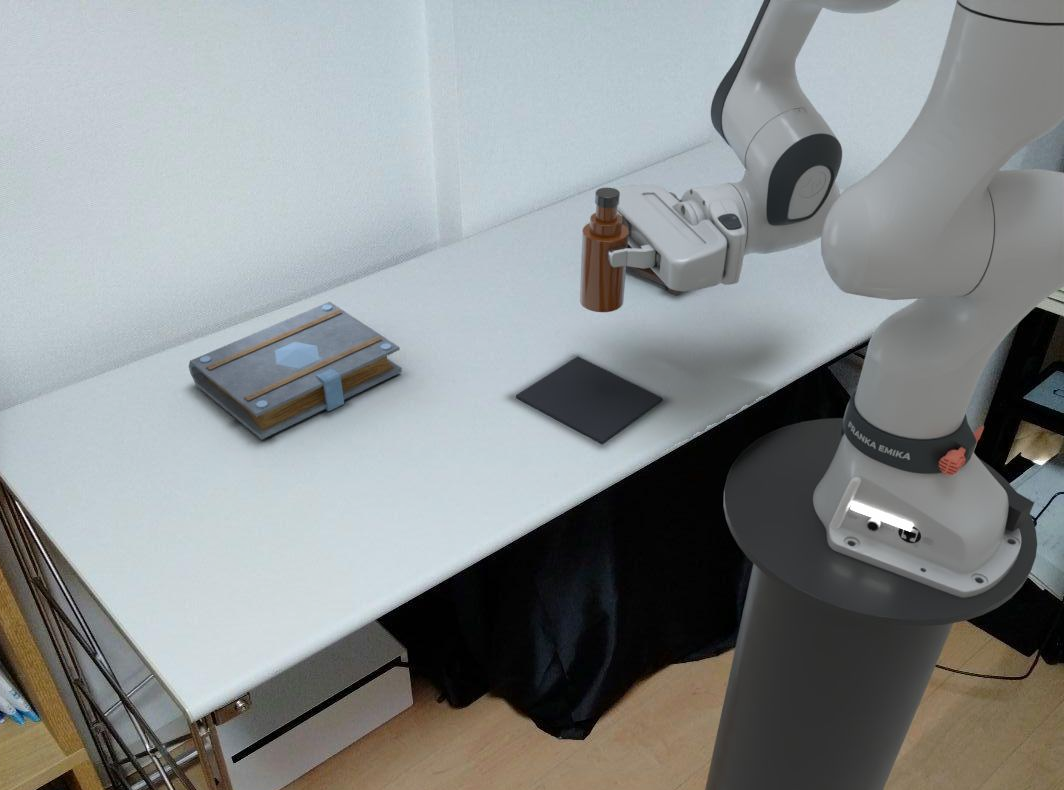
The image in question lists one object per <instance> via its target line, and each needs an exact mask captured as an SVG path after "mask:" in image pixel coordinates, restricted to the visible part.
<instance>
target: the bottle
mask: <svg viewBox="0 0 1064 790" xmlns="http://www.w3.org/2000/svg"><path fill="white" fill-rule="evenodd" d="M614 188H615V187H607V186H606V187H601V188H598V189H597V190H596V191H595V193H594V194H595V195H594V203H595V212H594V213H592V214H591V215H590V217H589V222H590V223H589V224H587V225H585V224H584V226H583V228H582V235H581V261H580V262H581V263H580V287H579V289H580V290H579V303H580V305H581V307H583V308H585V309H586V310H588V311H591V312H595V313H611V312H614V311H617V310H619V309H620V308H621V307H623V305H624V302H625V301H624V300H625V287H626V274H627V273H626V271H627V269H626V266H621V267H615V268H614V267H612V266H611V264H610V263H609V262H608V261H607V250H608V249H609V248H610V247H616V246H621V245H622V246H623V247H624V248H627V247H628V233H629V231H628V229H627V227H626V226H625V225H623V224H622V217H621V216H620V215H619V214H617V210H618V205H619V200H620V192H619V191H618V190H617V189H614Z"/></svg>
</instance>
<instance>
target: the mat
mask: <svg viewBox="0 0 1064 790" xmlns="http://www.w3.org/2000/svg"><path fill="white" fill-rule="evenodd" d="M515 398H516V399H518V400H519V401H521V402H523V403H524V404H527V405H529V406H530V407H533V408H534V409H536V410H537V411H540V412H542V413H543V414H545V415H548V416H549V417H551V418H553V419H555V420H556V421H559V422H561V423H562V424H564V425H566V426H568V427H569V428H572V429H574V430H576V431H577V432H579V433H581V434H583V435H585V436H587V437H588V438H590V439H592V440H594V441H596V442H598V443H599V444H601V445H602V444H604V443H606V442H607V441H608V440H610V439H611V438H613V437H614V436H615V435H617V434H619V433H620V432H621V431H623V430H624V429H626V428H627V427H628V426H630V425H631V424H632V423H634V422H636V420H638V419H639V418H641V417H642V416H644V415H645V414H646V413H648V412H649V411H650V410H652V409H653V408H655V407H656V406H658V405H659V404H660V403H662V402H663V401H664V398H663V397H662V396H660V395H658V394H656V393H653V392H652V391H649V390H647V389H646V388H643V387H641V386H639V385H637V384H635V383H633V382H632V381H630V380H627V379H625V378H624V377H621V376H619V375H617V374H616V373H613V372H611V371H609V370H607V369H605V368H603V367H600V366H598V365H597V364H594V363H592V362H590V361H589V360H586V359H584V358H582V357H580V356H575V357H574V358H573V359H571V360H570V361H568V362H566V363H564V364H563V365H561V366H560V367H558V368H557V369H555V370H554V371H552V372H551V373H549V374H547V375H546V376H544V377H543V378H541V379H539V380H538V381H536V382H534V383H533V384H532V385H529V386H528V387H527V388H525V389H523V390H522V391H521V392H518V393H517V394H516V395H515Z"/></svg>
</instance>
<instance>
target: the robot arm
mask: <svg viewBox="0 0 1064 790" xmlns="http://www.w3.org/2000/svg"><path fill="white" fill-rule="evenodd" d="M900 1H901V0H763V2H762V4H761V6H760V8H759V11H758V13H757V15H756V17H755V19H754V22H753V23H752V26H751V27H750V30H749V33H748V35H747V37H746V39H745V41H744V44H743V46H742V48H741V50H740V52H739V54H738V56H737V57H736V59H735V61H734V62H733V64H732V65H731V66H730V68H729V69H728V71H727V72H726V73H725V75H724V77H722V79H721V81H720V83H719V85H718V86H717V88H716V89H715V93H714V95H713V98H712V101H711V106H710V120H711V124H712V127H713V128H714V130H715V131H716V133H718V134H719V136H721V138H722V139H723V141H724V142H725V143H726V144H727V145H728V146H729V147H730V148H731V150H732V151H733V152H734V154H735V156H736V157H737V159H738V160H739V162H740V163H741V164H742V166H743V168H744V169H745V170H744V174H743V176H742V179H741V180H740V181H738V182H723V183H717V184H712V185H706V186H700V187H699V186H698V187H694V188H689V189H687V190H686V191H685V192H683V194H682V196H681V198H678V196H677V194H675V193H673V192H671V191H668V189H666V188H664V187H663V186H661V185H657V184H637V185H636V184H635V185H625V186H616V187H615V186H614V187H613V188H614V189H617V190H618V191H619V192H620V200H619V205H618V210H617V214H619V215H620V216H621V217H622V224H623V225H625V226H626V227H627V229H628V231H629V233H628V244H629V245H630V246H631V248H624V247H623V246H622V245H621V246H616V247H610V248H609V249H608V250H607V261H608V262H609V263H610V264H611V266H612V267H614V268H615V267H621V266H629V267H636V268H643V269H645V268H651V269H652V270H653V271H654V272H655V273H656V275H657V276H658V277H659V278H660V279H661V280H662V281H663V282H664V283H665V284H666V285H667V286H666V285H665V286H666V287H667V288H670V289H673V290H677V291H683V292H690V291H697V290H702V289H703V290H704V289H708V288H712V287H715V286H718V285H720V284H722V285H724V286H727V285H728V286H731V285H734V284H735V285H736V284H738V283H739V281H740V277H741V273H742V268H743V262H744V257H745V256H747V255H749V254H759V255H767V254H773V253H774V254H775V253H778V252H783V251H788V250H792V249H795V248H798V247H800V246H804V245H807V244H811V242H814V241H816V240H818V239H820V250H821V257H822V262H823V264H824V268H825V270H826V272H827V274H828V276H829V277H830V279H831V280H832V282H833V283H834V285H836V287H837V288H838V289H839V290H840V291H842V292H843V293H846V294H848V295H849V294H850V295H855V296H859V297H865V298H873V299H881V300H887V301H901V300H902V301H903V300H914V301H912V302H911V303H910V304H907V305H906V306H904V307H902V308H900V309H899V310H897V311H896V312H894V313H892V314H891V315H889V316H888V317H887V318H886V319H884V320H883V321H882V322H881V323H880V324H879V325H878V326H877V328H876V329H875V331H874V332H873V334H872V335H871V337H870V339H869V342H868V345H867V349H866V353H865V357H864V360H863V364H862V369H861V371H860V375H859V379H858V383H857V386H856V389H855V390H853V391H852V393H851V395H850V398H849V401H848V402H847V405H846V408H845V411H844V415H843V417H842V418H843V426H842V430H841V436H842V439H841V442H840V444H839V447H838V449H837V452H836V454H835V456H834V458H833V460H832V462H831V464H830V466H829V468H828V470H827V472H826V474H825V475H824V477H823V478H822V480H821V481H820V482H819V484H818V485H817V487H816V488H815V491H814V494H813V505H814V509H815V511H816V514H817V515H818V517H819V519H820V520H821V522H822V523H823V525H824V526H825V528H826V533H827V542H828V545H829V546H830V548H831V549H833V550H834V551H836V552H839V553H842V554H844V555H847V556H850V557H852V558H855V559H858V560H860V561H863V562H866V563H868V564H871V565H874V566H877V567H879V568H882V569H885V570H887V571H890V572H893V573H895V574H898V575H901V576H903V577H906V578H909V579H911V580H914V581H917V582H920V583H922V584H925V585H928V586H930V587H933V588H936V589H938V590H941V591H944V592H946V593H949V594H952V595H955V596H958V597H962V598H966V597H971V596H975V595H978V594H981V593H984V592H986V591H987V590H989V589H991V588H992V587H994V586H995V585H996V584H998V583H999V582H1000V581H1001V580H1002V579H1003V578H1004V577H1005V576H1006V575H1007V573H1008V572H1009V571H1010V569H1011V568H1012V567H1013V565H1014V563H1015V562H1016V560H1017V557H1018V554H1019V551H1020V548H1021V533H1020V530H1019V527H1020V526H1022V525H1023V524H1024V523H1026V521H1027V518H1028V516H1029V514H1030V515H1031V512H1032V509H1033V507H1034V506H1035V502H1034V501H1033V500H1031V499H1029V498H1027V497H1026V496H1024V495H1022V494H1021V493H1019V492H1017V491H1016V490H1015V491H1016V492H1015V491H1013V490H1012V489H1010V488H1008V487H1006V486H1005V485H1003V484H1001V483H998V482H997V480H996V479H995V478H994V477H993V476H992V475H991V473H990V472H989V471H988V470H987V468H986V467H985V466H984V465H983V464H982V462H981V461H980V460H979V459H980V458H979V457H978V456H977V455H976V453H975V452H974V451H975V449H976V445H977V442H978V441H979V440H980V439H981V437H982V434H983V431H984V429H985V426H984V425H981V426H979V428H978V429H977V430H976V431H975V432H973V430H972V428H971V426H970V424H969V421H968V417H967V412H968V409H969V406H970V403H971V400H972V398H973V395H974V394H975V392H976V388H977V386H978V384H979V381H980V379H981V377H982V375H983V372H984V371H985V368H986V365H987V364H988V362H989V360H990V359H991V357H992V356H993V354H994V353H995V351H996V350H997V348H998V347H999V346H1000V345H1001V343H1002V342H1003V341H1004V339H1005V338H1006V337H1007V336H1008V335H1009V334H1010V333H1011V332H1012V331H1013V330H1014V328H1015V327H1016V326H1018V324H1019V323H1020V322H1021V321H1022V320H1023V319H1024V318H1025V317H1027V315H1029V314H1030V312H1031V311H1033V310H1034V309H1036V307H1037V306H1039V305H1040V304H1041V303H1042V302H1044V301H1045V300H1046V299H1048V298H1049V297H1050V296H1051V295H1053V294H1054V293H1056V292H1058V291H1059V290H1061V289H1062V288H1064V172H1063V171H1061V172H1060V171H1055V170H1050V169H1049V170H1048V169H1042V168H1025V169H1024V168H1023V169H1022V168H1021V169H1005V170H1003V169H1002V167H1004V165H1005V164H1006V163H1007V162H1009V160H1010V159H1012V157H1014V156H1015V155H1016V154H1017V153H1019V152H1020V151H1021V150H1023V149H1024V148H1026V147H1027V146H1029V145H1030V144H1032V143H1035V142H1036V141H1037V140H1039V139H1041V138H1043V137H1044V136H1046V135H1048V134H1049V133H1051V132H1052V131H1053V130H1054V129H1056V128H1057V127H1058V126H1059V125H1061V123H1062V122H1063V121H1064V0H956V1H955V4H954V5H955V6H954V10H953V13H952V17H951V20H950V24H949V29H948V32H947V36H946V39H945V43H944V47H943V50H942V52H941V56H940V60H939V63H938V66H937V69H936V71H935V76H934V79H933V82H932V85H931V87H930V89H929V92H928V95H927V96H926V99H925V101H924V103H923V105H922V108H921V110H920V112H919V113H918V115H917V117H916V118H915V120H914V122H913V123H912V124H911V126H910V128H909V129H908V130H907V131H906V133H905V135H904V136H903V137H902V138H901V140H900V141H899V142H898V144H897V145H896V146H895V147H894V149H892V151H891V152H890V153H889V154H888V155H887V157H885V158H884V159H883V160H882V161H881V162H880V163H879V164H878V165H877V166H876V167H875V168H874V169H873V170H871V171H870V172H869V173H868V174H867V175H865V176H864V177H862V178H861V179H859V180H858V181H856V182H855V183H854V184H852V185H850V186H849V187H847V188H845V189H844V190H843V191H842V193H841V191H840V188H839V186H838V184H837V182H836V179H837V177H838V174H839V172H840V168H841V165H842V161H843V147H842V145H841V142H840V141H839V140H838V139H839V138H837V135H836V134H835V133H834V131H833V130H832V129H831V126H829V124H828V123H827V122H826V120H825V119H824V117H823V116H822V115H821V113H820V112H818V111H817V109H816V108H815V105H813V103H812V102H811V101H810V100H809V98H808V97H807V95H806V94H805V93H804V91H803V89H802V87H801V86H800V82H799V80H798V76H797V70H796V60H797V58H798V57H799V55H800V53H801V50H802V48H803V46H804V45H805V42H806V41H807V39H808V36H809V35H810V33H811V31H812V29H813V27H814V25H815V24H816V21H817V20H818V17H819V15H820V13H821V12H822V10H823V9H826V10H828V11H831V12H834V13H840V14H852V15H853V14H859V15H860V14H869V13H875V12H879V11H883V10H885V9H887V8H889V7H892V6H893V5H895V4H897V3H899V2H900ZM1001 169H1002V170H1001ZM589 223H590V221H587V222H585V224H584V226H585V225H587V224H589ZM978 458H979V459H978Z"/></svg>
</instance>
